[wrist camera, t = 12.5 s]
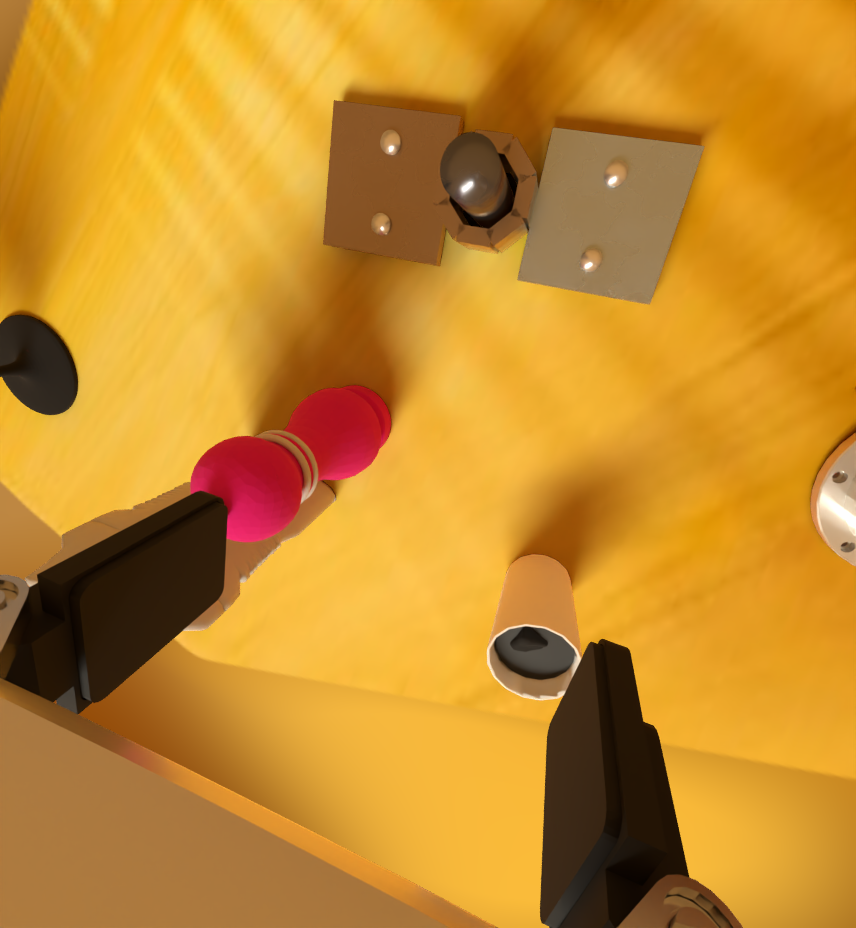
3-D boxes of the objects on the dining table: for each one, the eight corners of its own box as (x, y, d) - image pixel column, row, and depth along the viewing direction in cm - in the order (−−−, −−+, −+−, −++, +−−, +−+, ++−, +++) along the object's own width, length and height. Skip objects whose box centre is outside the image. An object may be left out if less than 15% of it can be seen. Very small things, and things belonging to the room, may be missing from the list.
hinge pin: (519, 184, 31) (505, 136, 22) (509, 232, 32) (491, 206, 23) (476, 177, 31) (446, 128, 22) (468, 225, 32) (435, 197, 23)
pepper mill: (325, 370, 39) (127, 433, 21) (403, 390, 38) (265, 475, 20) (317, 446, 42) (137, 561, 24) (390, 467, 41) (258, 604, 22)
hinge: (698, 152, 28) (724, 126, 24) (646, 304, 31) (660, 305, 27) (341, 107, 32) (309, 78, 28) (330, 245, 35) (300, 238, 31)
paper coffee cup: (486, 584, 42) (468, 662, 33) (529, 535, 39) (522, 607, 30) (545, 625, 42) (543, 715, 33) (592, 579, 39) (604, 663, 30)
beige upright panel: (241, 462, 45) (-11, 595, 25) (253, 428, 43) (-8, 541, 23) (331, 518, 44) (148, 699, 24) (347, 485, 42) (164, 652, 22)
